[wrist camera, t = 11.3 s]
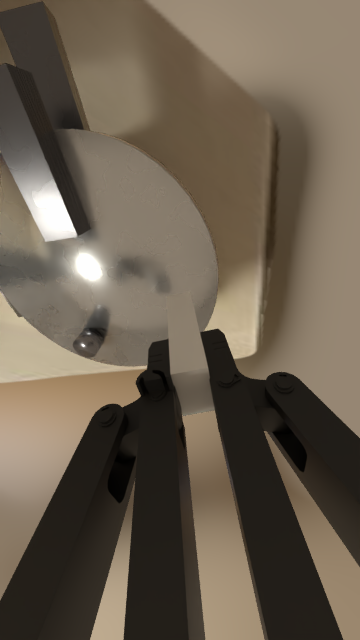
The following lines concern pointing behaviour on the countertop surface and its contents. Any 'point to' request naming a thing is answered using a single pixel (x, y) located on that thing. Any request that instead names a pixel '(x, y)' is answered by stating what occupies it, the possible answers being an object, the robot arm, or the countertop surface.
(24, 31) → the pot
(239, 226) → the countertop surface
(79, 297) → the lid
